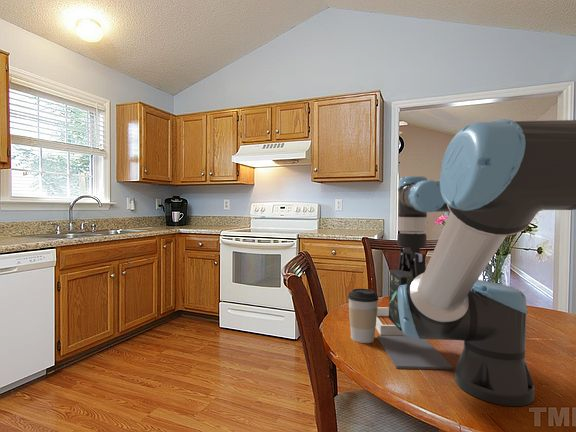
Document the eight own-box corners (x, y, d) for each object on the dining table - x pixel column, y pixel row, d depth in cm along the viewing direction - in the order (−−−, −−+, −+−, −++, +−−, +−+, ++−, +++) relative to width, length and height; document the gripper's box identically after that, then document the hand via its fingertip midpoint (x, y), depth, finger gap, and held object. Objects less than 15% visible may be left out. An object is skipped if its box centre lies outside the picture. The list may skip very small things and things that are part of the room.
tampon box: (434, 332, 89) (436, 277, 89) (399, 331, 89) (400, 276, 89) (419, 318, 100) (420, 269, 100) (388, 318, 100) (389, 269, 100)
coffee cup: (354, 331, 109) (355, 285, 109) (382, 337, 104) (382, 289, 104) (342, 339, 102) (343, 290, 102) (371, 347, 97) (371, 295, 96)
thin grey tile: (453, 369, 84) (453, 367, 84) (396, 368, 84) (396, 365, 84) (423, 338, 104) (423, 336, 104) (377, 337, 104) (377, 335, 104)
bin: (435, 336, 105) (435, 326, 105) (380, 335, 106) (380, 325, 106) (413, 315, 125) (413, 307, 125) (367, 315, 126) (367, 307, 126)
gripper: (443, 236, 82) (441, 325, 83) (411, 229, 106) (410, 299, 106) (412, 235, 82) (411, 324, 83) (387, 229, 106) (386, 298, 106)
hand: (410, 310), depth 95 cm, fingers closed on tampon box, 11 cm apart
